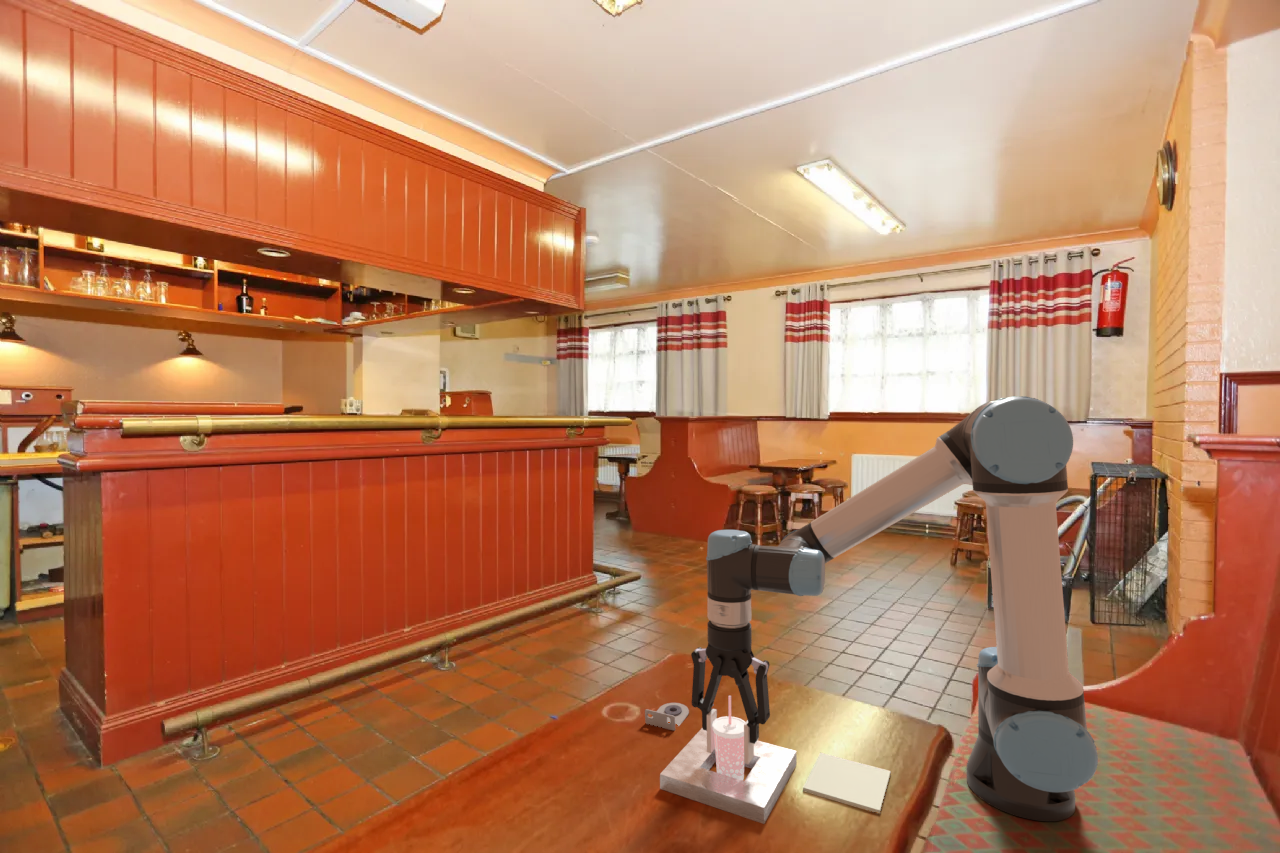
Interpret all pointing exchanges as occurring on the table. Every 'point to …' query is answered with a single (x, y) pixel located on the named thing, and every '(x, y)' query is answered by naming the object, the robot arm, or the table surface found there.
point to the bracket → (667, 715)
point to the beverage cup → (729, 745)
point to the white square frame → (730, 778)
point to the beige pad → (848, 782)
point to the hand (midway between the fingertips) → (730, 753)
